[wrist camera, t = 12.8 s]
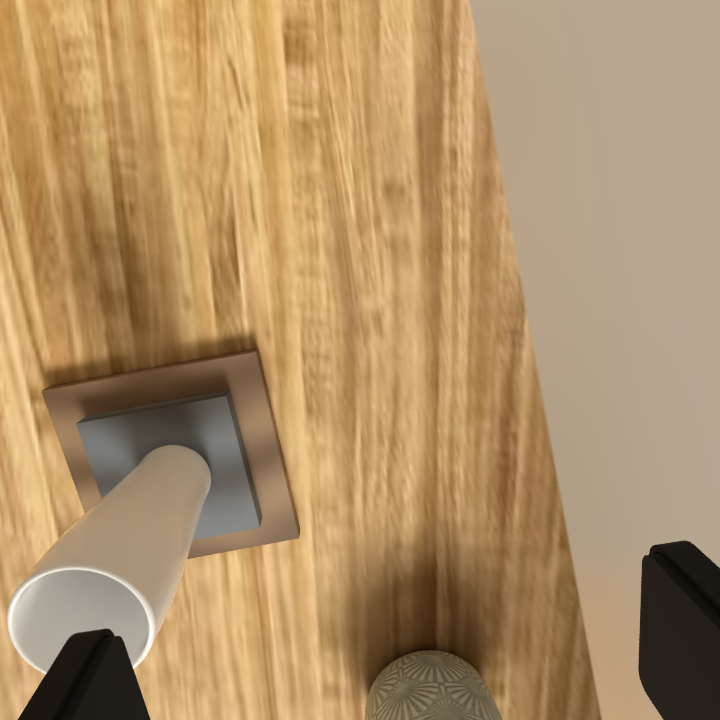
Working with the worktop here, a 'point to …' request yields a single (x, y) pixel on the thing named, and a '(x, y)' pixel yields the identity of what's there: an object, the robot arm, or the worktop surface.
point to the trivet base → (178, 386)
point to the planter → (430, 690)
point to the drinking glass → (115, 562)
